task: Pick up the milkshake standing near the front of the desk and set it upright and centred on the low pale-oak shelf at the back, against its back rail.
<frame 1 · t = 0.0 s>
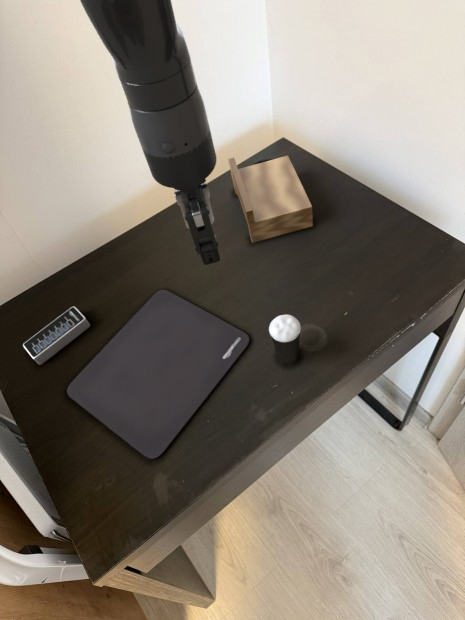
hand: (206, 238, 63), 21 cm above the table, tool pointing down, fingers open, 8 cm apart
multiport hub: (60, 338, 85), on the table
milkshake: (290, 357, 75), on the table
shelf: (271, 207, 95), on the table
mouse pad: (158, 365, 78), on the table
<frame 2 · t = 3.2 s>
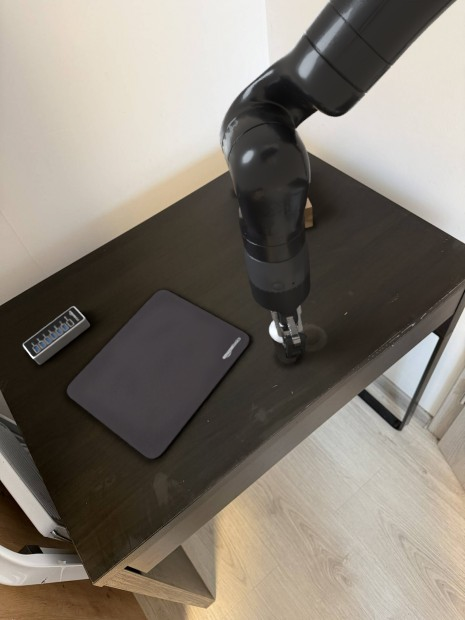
hand: (287, 338, 70), 5 cm above the table, tool pointing down, fingers closed on milkshake, 5 cm apart
milkshake: (290, 357, 75), on the table, touching gripper
everything else where it was.
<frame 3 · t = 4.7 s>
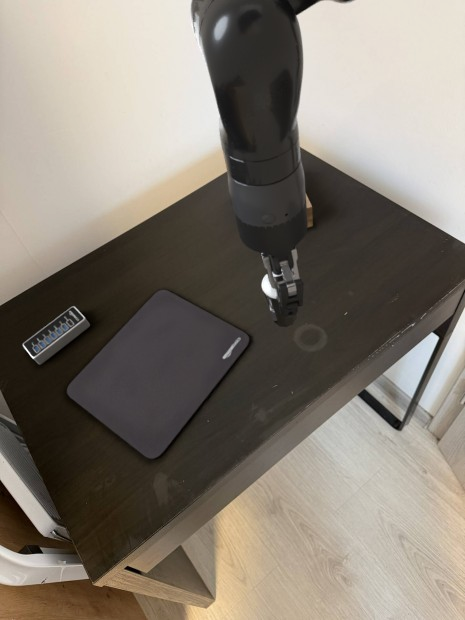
hand: (283, 296, 62), 16 cm above the table, tool pointing down, fingers closed on milkshake, 5 cm apart
milkshake: (286, 320, 66), point 11 cm above the table, touching gripper
everything else where it was.
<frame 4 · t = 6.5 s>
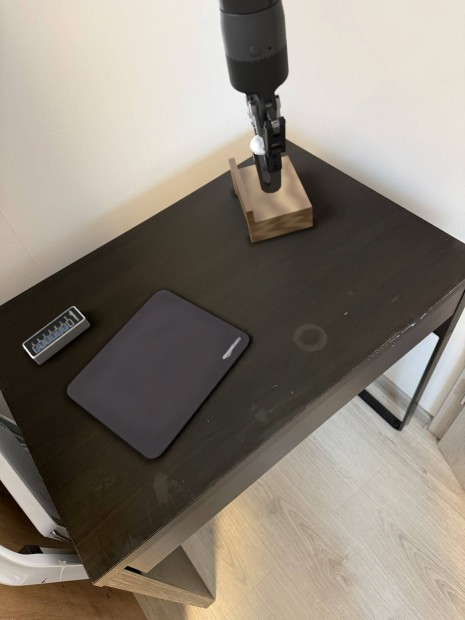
hand: (269, 158, 70), 21 cm above the table, tool pointing down, fingers closed on milkshake, 5 cm apart
milkshake: (273, 188, 75), point 16 cm above the table, touching gripper
everything else where it was.
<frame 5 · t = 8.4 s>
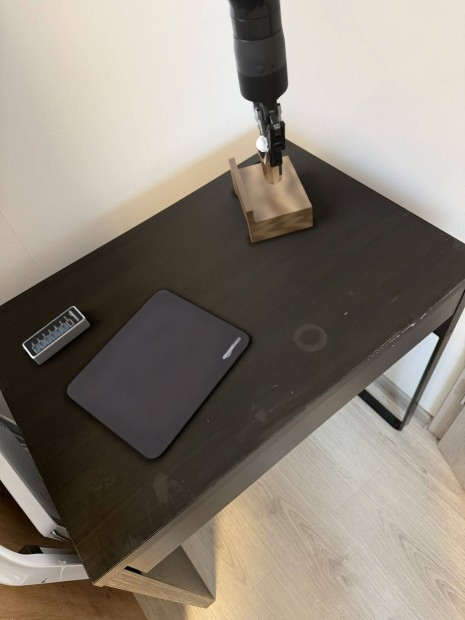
hand: (272, 155, 84), 13 cm above the table, tool pointing down, fingers closed on milkshake, 5 cm apart
milkshake: (275, 180, 88), point 7 cm above the table, touching gripper
everything else where it was.
when the fingers open (10 cm above the table, at t = 9.7 s): milkshake stays where it is, resting on shelf.
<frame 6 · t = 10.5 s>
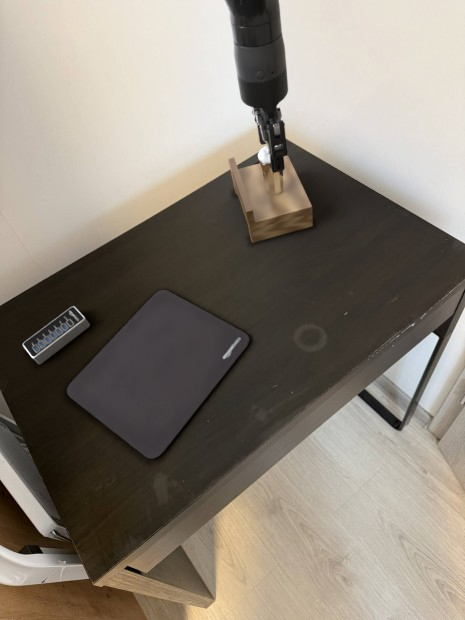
hand: (271, 156, 84), 13 cm above the table, tool pointing down, fingers open, 8 cm apart
milkshake: (276, 191, 90), point 5 cm above the table, touching shelf
everything else where it was.
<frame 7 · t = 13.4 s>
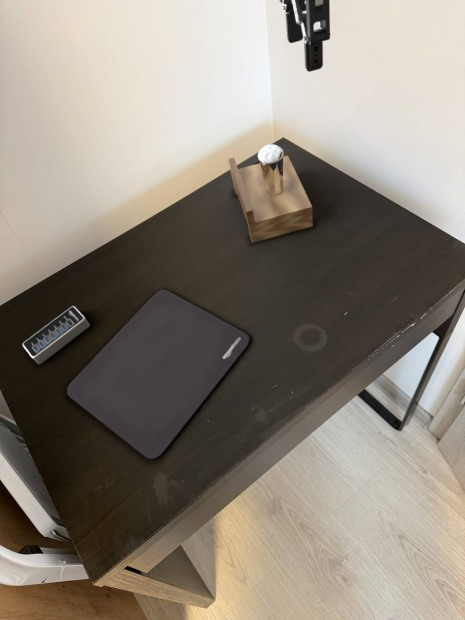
hand: (304, 54, 65), 32 cm above the table, tool pointing down, fingers open, 8 cm apart
nothing on the table moved.
at the end: milkshake inside the target area on the shelf (1.5 cm from its centre), point 4.8 cm above the shelf's base; milkshake tilted 0°; the gripper is holding nothing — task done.
